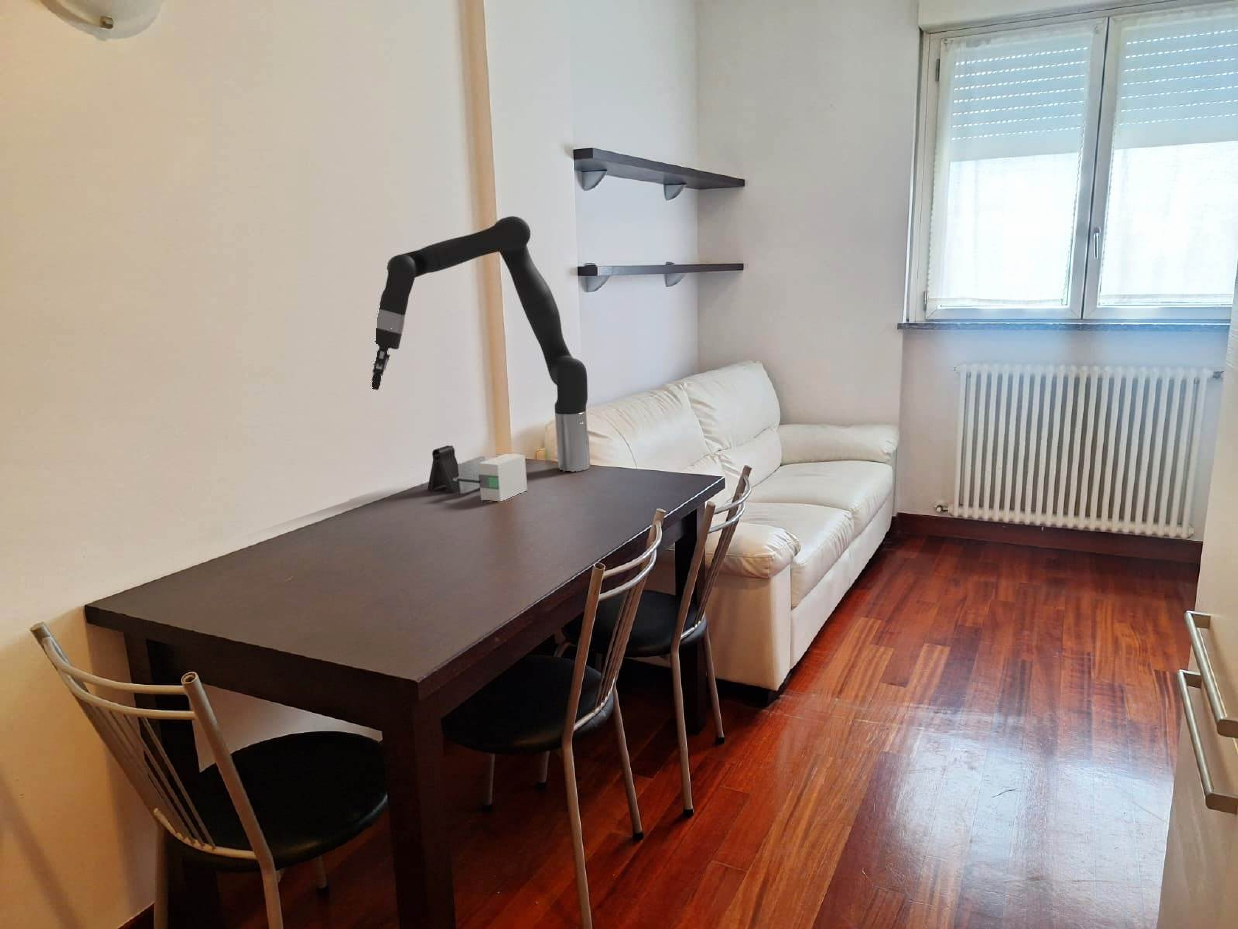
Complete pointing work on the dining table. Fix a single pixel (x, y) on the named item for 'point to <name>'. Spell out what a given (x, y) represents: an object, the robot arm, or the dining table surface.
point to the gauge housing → (502, 477)
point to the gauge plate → (469, 474)
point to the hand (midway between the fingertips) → (374, 388)
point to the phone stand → (444, 471)
